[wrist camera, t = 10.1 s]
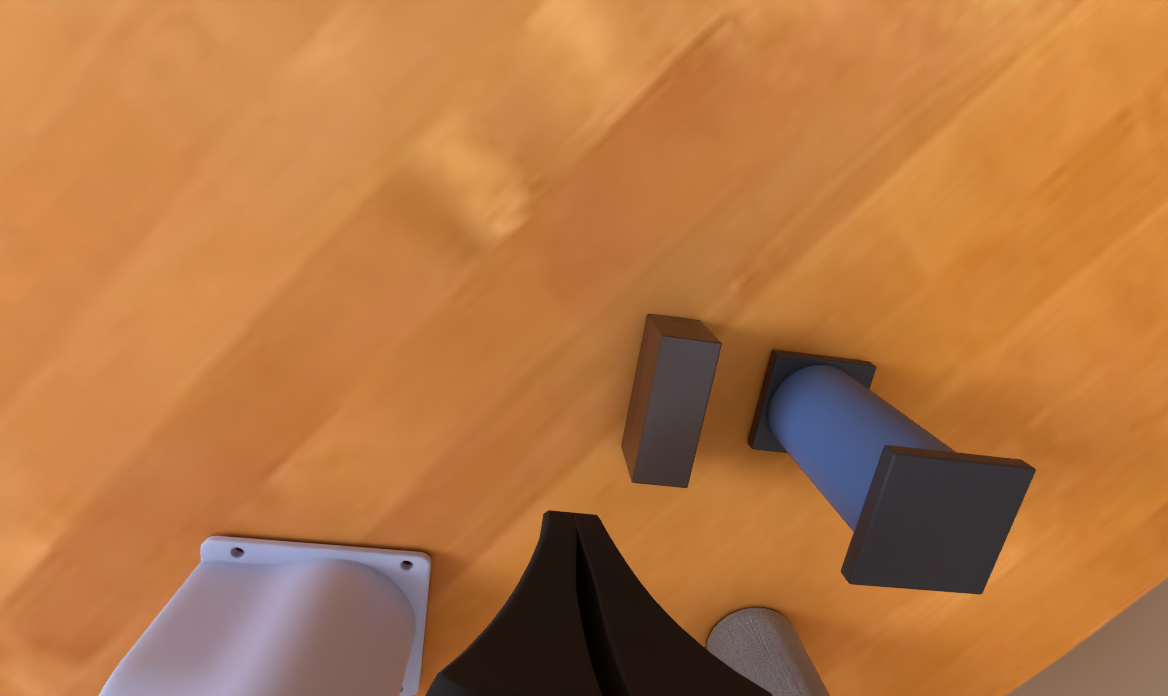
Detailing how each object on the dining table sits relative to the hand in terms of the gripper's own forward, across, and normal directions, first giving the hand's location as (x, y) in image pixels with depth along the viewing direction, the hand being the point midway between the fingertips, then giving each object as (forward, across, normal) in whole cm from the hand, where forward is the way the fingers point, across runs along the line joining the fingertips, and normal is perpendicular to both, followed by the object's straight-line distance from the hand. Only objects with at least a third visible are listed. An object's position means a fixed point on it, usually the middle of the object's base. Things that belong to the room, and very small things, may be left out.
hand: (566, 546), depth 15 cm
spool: (+6, -11, -1) cm, 12 cm away
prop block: (+10, -4, 0) cm, 11 cm away
